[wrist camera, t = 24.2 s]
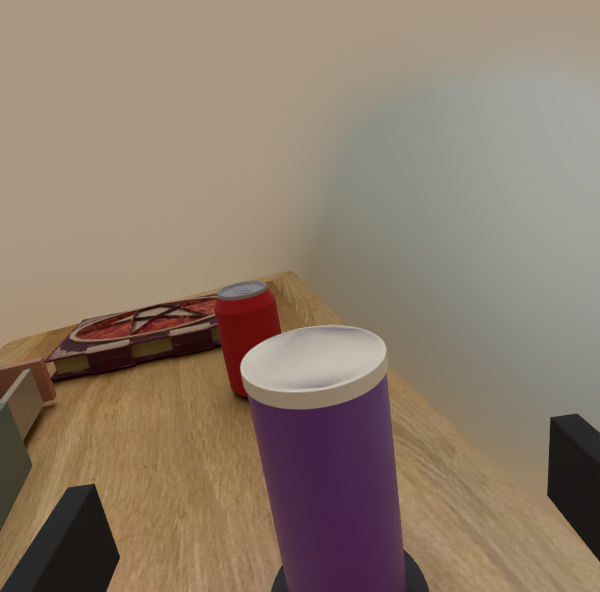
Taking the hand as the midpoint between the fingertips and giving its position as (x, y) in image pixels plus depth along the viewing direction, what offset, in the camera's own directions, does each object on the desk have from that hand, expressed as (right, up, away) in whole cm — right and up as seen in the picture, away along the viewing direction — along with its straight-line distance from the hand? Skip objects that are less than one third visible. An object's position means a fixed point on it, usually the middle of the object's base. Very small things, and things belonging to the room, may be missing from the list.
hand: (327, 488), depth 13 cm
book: (-23, -1, +59) cm, 63 cm away
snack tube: (+2, -11, +12) cm, 16 cm away
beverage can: (-5, -5, +38) cm, 39 cm away
